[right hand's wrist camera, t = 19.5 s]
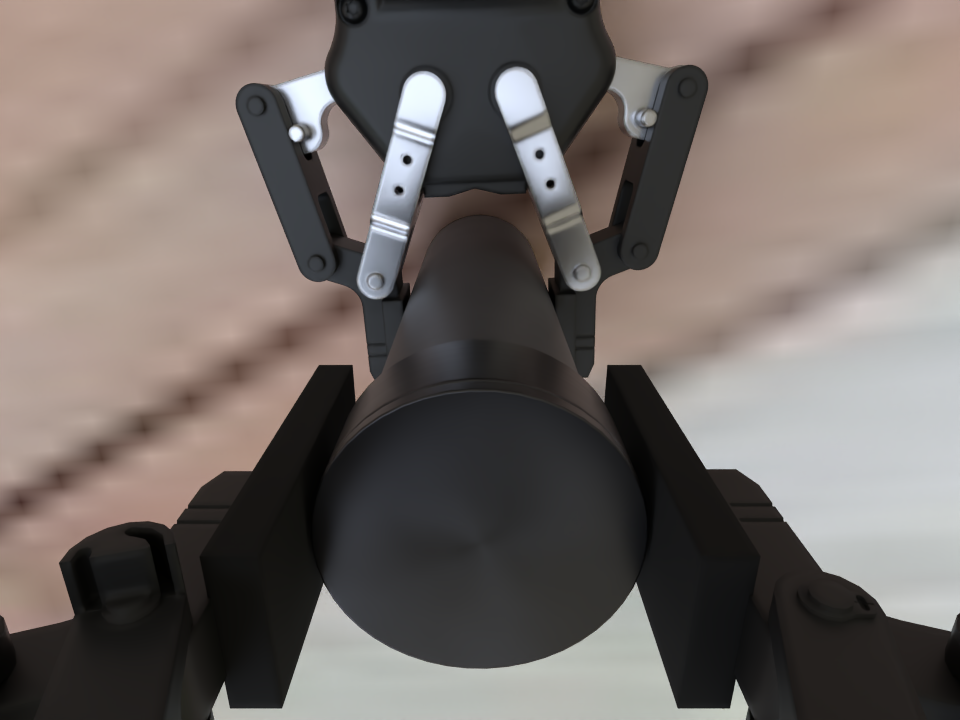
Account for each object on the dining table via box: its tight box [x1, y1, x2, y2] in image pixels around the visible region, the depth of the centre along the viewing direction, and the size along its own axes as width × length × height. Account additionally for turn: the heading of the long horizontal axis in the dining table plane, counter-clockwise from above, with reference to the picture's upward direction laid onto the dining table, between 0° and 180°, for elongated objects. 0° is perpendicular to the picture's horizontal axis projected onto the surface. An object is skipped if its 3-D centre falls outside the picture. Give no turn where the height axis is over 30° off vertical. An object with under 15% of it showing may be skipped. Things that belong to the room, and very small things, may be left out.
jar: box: [382, 215, 578, 373], centre depth 19 cm, size 5×5×18 cm
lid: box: [310, 340, 649, 669], centre depth 11 cm, size 6×6×2 cm
